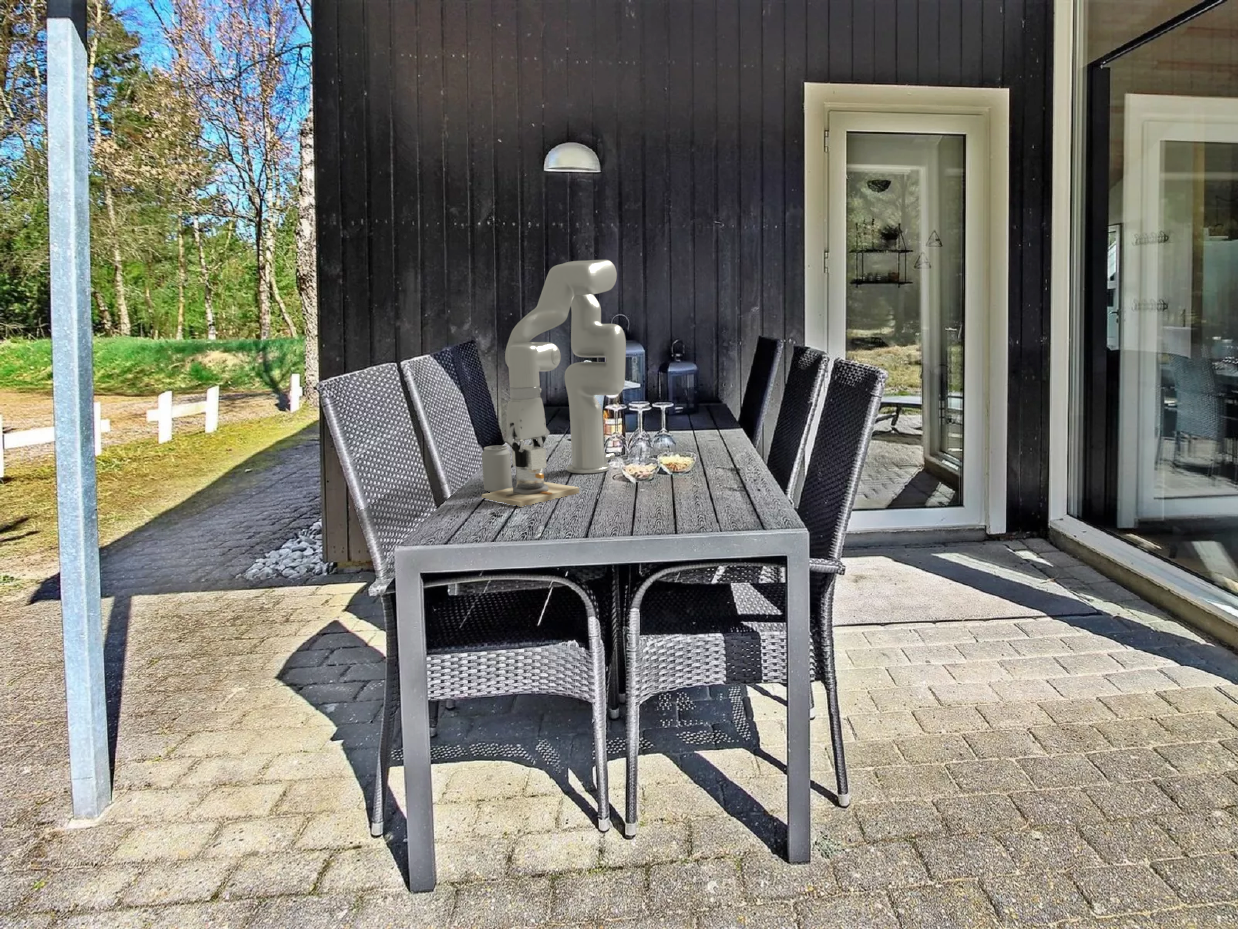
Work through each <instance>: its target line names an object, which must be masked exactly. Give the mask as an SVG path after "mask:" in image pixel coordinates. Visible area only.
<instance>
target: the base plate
mask: <svg viewBox="0 0 1238 929" xmlns="http://www.w3.org/2000/svg"><path fill="white" fill-rule="evenodd" d="M577 493H578V494H580V487H578V486H573V485H566V484H562V483H561V484H560V483H555V482H547V481H544V486H543V487H540V488H533V489H521V488H517V485H516V486H512V488H508V489H503V490H499V491H495V492H490V493H488V492H486V493H482V494H481V499H482V498H486V499H489V500H493V501H497V502H504V503H507V504H510V505H517V506H520V507H522V506H525V505H530V506H533V505H532V504H534V505H536V504H535V503H538V502H542V503H545V501H546V502H549V501H548V500H550V501H553V500H552V499H554V500H556V499H555V498H558V499H561V497H562V498H565V496H566V497H569V496H568V495H570V496H573V495H577ZM538 504H539V503H538ZM522 508H523V507H522Z"/></svg>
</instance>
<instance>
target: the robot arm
mask: <svg viewBox="0 0 1238 929" xmlns="http://www.w3.org/2000/svg"><path fill="white" fill-rule="evenodd" d="M617 277H618V273H617V269H616V266H615V264H614V263H613V262H612V261H611V260H609V259H591V260H573V261H568V262H567V261H566V262H564V263H561V264H557V265H554V266H552V267H551V268H550V269H549V271H548V273H547V276H546V279H545V282H544V284H543V287H542V290H541V294H540V296H539V299H538V302H537V305H536V307H535V308H534V309H532V310H531V311H529V313H527V314H526V315H525V316H524V317H523V318H522V319H521V320H519V321H518V322H517V324H516V325H515V326H514V328H513V329H512V330H511V333H510V335H509V338H508V341H507V343H506V348H505V351H504V353H505V354H504V355H505V356H504V359H505V365H507V367H508V377H509V395H510V400H508V402H507V407H506V422H505V423H506V426H505V430H506V436H505V438H504V442H505V443H506V445H509V447H510V448H511V451H512V450H513V451H514V452H515V463H516V467H522V468H524V467H526V456H525V452H523V449H524V445H525V442H526V441H527V440H530V441H531V443H532V446H537V447H542V448H545V447H544V446H545V445H544V444H545V442H546V440H547V438H548V437H549V435H550V433H551V432H550V430H549V429H548V427H547V425H546V415H545V414H546V413H545V408H544V403H543V399H542V397H541V393H542V391H543V390H542V387H541V386H540V385H541V384H540V372H550V371H553V370H555V369H557V367H558V366H559V364H560V362H561V360H562V359H561V352H560V348H559V347H558V346H557V345H556V344H555V343H553V342H550V341H549V342H548V341H532V339H534V338H535V337H537V336H539V335H540V334H542V333H545V332H547V331H550V330H552V329H554V328H556V327H558V326H560V325H562V324H564V323H565V322H566V321H567V318H568V316H569V312H570V310H571V324H570V326H571V327H570V330H571V331H570V332H571V333H570V347H571V351H572V353H573V354H574V356H576V357H578V358H605V360H606V361H581V362H579V361H578V362H574V363H571V364H570V365H569V366H567V367H566V369H565V371H564V384H565V387H566V388H565V389H566V393H567V397H568V405H569V408H568V409H569V420H570V422H569V424H570V426H569V427H570V442H571V443H570V444H571V445H570V446H571V464H569V465H568V466H567V467H566V471H567V472H569V473H572V474H598V473H603V472H607V471H609V470H611V469H610V468H611V466H610V464H608V461H610V460H614V459H616V455H615V453H614V452H609V453H607V452H605V449H604V448H605V445H604V444H605V442H604V422H603V421H604V420H603V409H602V406H601V404H600V402H599V401H598V399H597V398H596V397H595V396H616V395H619V394H621V393H622V392H623V390H624V388H625V384H626V383H625V382H626V358H627V357H626V356H627V355H626V354H627V345H626V344H627V343H626V342H627V339H626V334H625V332H624V330H623V327H622V326H620V325H618V324H615V323H602V308H601V304H600V302H599V301H598V299H597V298H596V296H595V295H596V294H601V293H605V292H608V291H611V290H612V289H613V288H614V286H615V285H616V281H617ZM516 467H515V468H516Z"/></svg>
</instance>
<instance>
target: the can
mask: <svg viewBox="0 0 1238 929" xmlns="http://www.w3.org/2000/svg"><path fill="white" fill-rule="evenodd" d="M511 459H512V458H511V451H510V450H509V449H508V446H507V445H489V446H485V447H483V451H482V452H481V465H482V480H483V483H482V484H483V489H484V490H485V491H486V492H487V491H488V492H495V491H499V490H503V489H508V488H512V487H513V479H512V463H511V462H512V460H511ZM488 492H487V493H488Z"/></svg>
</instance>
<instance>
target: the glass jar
mask: <svg viewBox="0 0 1238 929" xmlns="http://www.w3.org/2000/svg"><path fill="white" fill-rule="evenodd" d="M546 450H547V448H546V447H543V448H542V447H537V446H533V445H531V444H524V449H523V452H525V456H526V467H524V468H522V467H516V463H515V452H514V451H513V450H512V449H511V459H512V460H511V462H512V463H511V464H512V467H515V476H516V477H515V478H516V486H517V488H521V489H533V488H540V487H543V486H544V482H545V474H544V469H546V468H547V451H546Z"/></svg>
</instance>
